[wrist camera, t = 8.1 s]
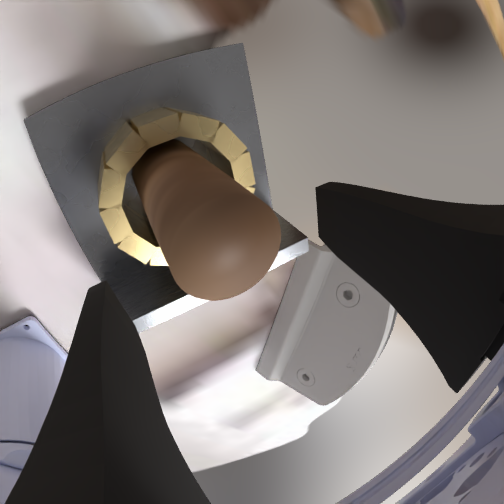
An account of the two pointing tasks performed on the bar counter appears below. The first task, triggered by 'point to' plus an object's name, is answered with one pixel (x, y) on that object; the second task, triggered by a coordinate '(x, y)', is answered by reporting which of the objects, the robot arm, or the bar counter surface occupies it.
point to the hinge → (326, 328)
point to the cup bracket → (130, 151)
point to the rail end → (205, 222)
